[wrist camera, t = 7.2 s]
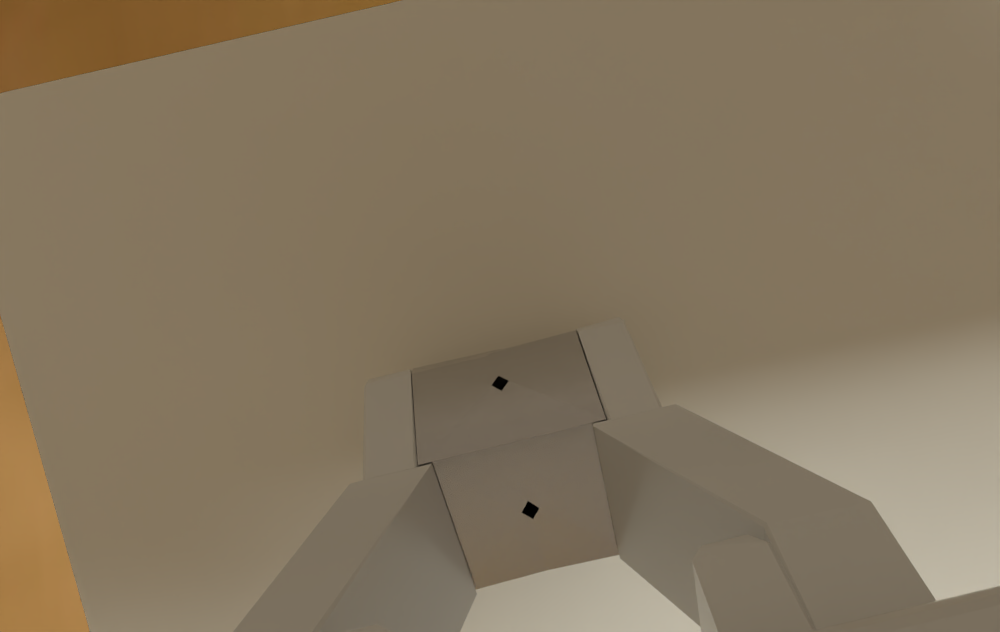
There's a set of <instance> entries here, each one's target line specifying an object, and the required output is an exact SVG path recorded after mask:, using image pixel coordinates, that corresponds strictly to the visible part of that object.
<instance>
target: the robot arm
mask: <svg viewBox="0 0 1000 632" xmlns="http://www.w3.org/2000/svg"><path fill="white" fill-rule="evenodd" d="M616 555H620V559H621V560H623V561H624V562H625V563H626V564H627V565H628V566H630V567H631V568H632V569H633V570H634V571H635V572H637V573H638V574H639V575H640V576H641V577H642V578H644V579H645V580H646V581H647V582H648V583H650V584H651V585H652V586H653V587H654V588H655V589H657V590H658V591H659V592H660V593H661V594H662V595H664V596H665V597H666V598H667V599H668V600H669V601H671V602H672V603H673V604H674V605H675V606H676V607H678V608H679V609H680V610H681V611H682V612H683V613H685V614H686V615H687V616H688V617H689V618H691V619H692V620H693V621H694V622H695V623H696V624H698V625H699V626H700V627H701V632H1000V586H996V587H991V588H987V589H983V590H979V591H975V592H971V593H967V594H962V595H958V596H954V597H950V598H946V599H941V600H937V601H936V599H935V598H934V596H933V595H932V593H931V592H930V590H929V589H928V587H927V586H926V584H925V583H924V581H923V580H922V578H921V576H920V575H919V573H918V572H917V570H916V569H915V567H914V566H913V564H912V563H911V561H910V560H909V558H908V557H907V555H906V554H905V552H904V551H903V549H902V548H901V546H900V544H899V543H898V541H897V540H896V538H895V537H894V535H893V534H892V532H891V531H890V529H889V528H888V526H887V525H886V523H885V522H884V520H883V519H882V517H881V516H880V514H879V512H878V511H877V509H876V508H875V506H874V505H873V503H872V502H871V501H869V500H867V499H865V498H863V497H861V496H859V495H857V494H855V493H853V492H851V491H849V490H847V489H845V488H843V487H841V486H839V485H837V484H835V483H833V482H831V481H829V480H827V479H825V478H823V477H821V476H819V475H817V474H815V473H813V472H811V471H809V470H807V469H805V468H803V467H801V466H799V465H797V464H795V463H793V462H791V461H789V460H787V459H785V458H783V457H781V456H779V455H777V454H775V453H773V452H771V451H769V450H767V449H765V448H763V447H761V446H759V445H757V444H755V443H753V442H751V441H749V440H747V439H745V438H743V437H741V436H739V435H737V434H735V433H733V432H731V431H729V430H727V429H725V428H723V427H721V426H719V425H717V424H715V423H713V422H711V421H709V420H707V419H705V418H703V417H701V416H699V415H697V414H695V413H693V412H691V411H689V410H687V409H685V408H683V407H681V406H679V405H677V404H673V405H669V406H665V407H662V405H661V403H660V401H659V398H658V396H657V394H656V392H655V389H654V387H653V385H652V383H651V380H650V378H649V376H648V374H647V371H646V369H645V367H644V364H643V362H642V360H641V358H640V355H639V353H638V351H637V349H636V346H635V344H634V342H633V340H632V337H631V335H630V333H629V330H628V328H627V326H626V324H625V321H624V320H622V319H621V318H619V317H617V318H614V319H610V320H606V321H603V322H599V323H596V324H592V325H589V326H585V327H581V328H578V329H576V330H575V331H571V332H567V333H563V334H559V335H556V336H552V337H548V338H544V339H540V340H536V341H532V342H529V343H525V344H521V345H517V346H513V347H509V348H505V349H502V350H501V349H498V350H493V351H489V352H484V353H480V354H475V355H471V356H466V357H462V358H458V359H453V360H449V361H444V362H440V363H435V364H431V365H426V366H422V367H417V368H413V371H412V370H409V369H408V370H404V371H400V372H396V373H392V374H388V375H384V376H380V377H376V378H372V379H368V381H367V383H366V385H365V387H364V441H363V480H362V481H358V482H354V483H350V484H349V485H348V487H347V488H346V489H345V490H344V492H343V493H342V494H341V495H340V497H339V498H338V499H337V501H336V502H335V503H334V504H333V506H332V507H331V508H330V509H329V511H328V512H327V513H326V515H325V516H324V517H323V518H322V520H321V521H320V522H319V523H318V525H317V526H316V527H315V528H314V530H313V531H312V532H311V534H310V535H309V536H308V537H307V539H306V540H305V541H304V542H303V544H302V545H301V546H300V548H299V549H298V550H297V551H296V553H295V554H294V555H293V556H292V558H291V559H290V560H289V561H288V563H287V564H286V565H285V567H284V568H283V569H282V570H281V572H280V573H279V574H278V575H277V577H276V578H275V579H274V581H273V582H272V583H271V584H270V586H269V587H268V588H267V589H266V591H265V592H264V593H263V594H262V596H261V597H260V598H259V600H258V601H257V602H256V603H255V605H254V606H253V607H252V608H251V610H250V611H249V612H248V614H247V615H246V616H245V617H244V619H243V620H242V621H241V622H240V624H239V625H238V626H237V627H236V629H235V630H234V631H233V632H460V631H461V628H462V626H463V624H464V622H465V620H466V617H467V615H468V613H469V611H470V608H471V606H472V604H473V602H474V600H475V597H476V595H477V593H476V589H480V588H484V587H487V586H491V585H495V584H498V583H502V582H506V581H509V580H513V579H517V578H520V577H524V576H528V575H531V574H535V573H539V572H542V571H546V570H551V569H556V568H560V567H565V566H570V565H574V564H579V563H584V562H588V561H593V560H597V559H602V558H607V557H611V556H616Z"/></svg>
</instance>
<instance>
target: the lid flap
mask: <svg viewBox="0 0 1000 632" xmlns="http://www.w3.org/2000/svg"><path fill="white" fill-rule="evenodd" d="M0 315H1V319H2V322H3V326H4V329H5V333H6V336H7V340H8V343H9V347H10V350H11V354H12V357H13V361H14V365H15V368H16V372H17V375H18V379H19V382H20V386H21V389H22V393H23V396H24V400H25V403H26V407H27V411H28V414H29V418H30V421H31V425H32V428H33V432H34V435H35V439H36V442H37V446H38V449H39V453H40V456H41V460H42V464H43V467H44V471H45V474H46V478H47V481H48V485H49V488H50V492H51V495H52V499H53V502H54V506H55V509H56V513H57V517H58V520H59V524H60V527H61V531H62V534H63V538H64V541H65V545H66V548H67V552H68V555H69V559H70V563H71V566H72V570H73V573H74V577H75V580H76V584H77V587H78V591H79V594H80V598H81V601H82V605H83V608H84V612H85V616H86V619H87V623H88V626H89V630H90V632H233V631H234V630H235V629H236V627H237V626H238V625H239V624H240V622H241V621H242V620H243V619H244V617H245V616H246V615H247V614H248V612H249V611H250V610H251V608H252V607H253V606H254V605H255V603H256V602H257V601H258V600H259V598H260V597H261V596H262V594H263V593H264V592H265V591H266V589H267V588H268V587H269V586H270V584H271V583H272V582H273V581H274V579H275V578H276V577H277V575H278V574H279V573H280V572H281V570H282V569H283V568H284V567H285V565H286V564H287V563H288V561H289V560H290V559H291V558H292V556H293V555H294V554H295V553H296V551H297V550H298V549H299V548H300V546H301V545H302V544H303V542H304V541H305V540H306V539H307V537H308V536H309V535H310V534H311V532H312V531H313V530H314V528H315V527H316V526H317V525H318V523H319V522H320V521H321V520H322V518H323V517H324V516H325V515H326V513H327V512H328V511H329V509H330V508H331V507H332V506H333V504H334V503H335V502H336V501H337V499H338V498H339V497H340V495H341V494H342V493H343V492H344V490H345V489H346V488H347V487H348V485H349V484H350V483H354V482H358V481H362V480H363V441H364V387H365V385H366V383H367V381H368V379H372V378H376V377H380V376H384V375H388V374H392V373H396V372H400V371H404V370H408V369H409V370H412V371H413V368H417V367H422V366H426V365H431V364H435V363H440V362H444V361H449V360H453V359H458V358H462V357H466V356H471V355H475V354H480V353H484V352H489V351H493V350H498V349H501V350H502V349H505V348H509V347H513V346H517V345H521V344H525V343H529V342H532V341H536V340H540V339H544V338H548V337H552V336H556V335H559V334H563V333H567V332H571V331H575V330H576V329H578V328H581V327H585V326H589V325H592V324H596V323H599V322H603V321H606V320H610V319H614V318H617V317H619V318H621V319H622V320H624V321H625V324H626V326H627V328H628V330H629V333H630V335H631V337H632V340H633V342H634V344H635V346H636V349H637V351H638V353H639V355H640V358H641V360H642V362H643V364H644V367H645V369H646V371H647V374H648V376H649V378H650V380H651V383H652V385H653V387H654V389H655V392H656V394H657V396H658V398H659V401H660V403H661V405H662V407H665V406H669V405H673V404H677V405H679V406H681V407H683V408H685V409H687V410H689V411H691V412H693V413H695V414H697V415H699V416H701V417H703V418H705V419H707V420H709V421H711V422H713V423H715V424H717V425H719V426H721V427H723V428H725V429H727V430H729V431H731V432H733V433H735V434H737V435H739V436H741V437H743V438H745V439H747V440H749V441H751V442H753V443H755V444H757V445H759V446H761V447H763V448H765V449H767V450H769V451H771V452H773V453H775V454H777V455H779V456H781V457H783V458H785V459H787V460H789V461H791V462H793V463H795V464H797V465H799V466H801V467H803V468H805V469H807V470H809V471H811V472H813V473H815V474H817V475H819V476H821V477H823V478H825V479H827V480H829V481H831V482H833V483H835V484H837V485H839V486H841V487H843V488H845V489H847V490H849V491H851V492H853V493H855V494H857V495H859V496H861V497H863V498H865V499H867V500H869V501H871V502H872V503H873V505H874V506H875V508H876V509H877V511H878V512H879V514H880V516H881V517H882V519H883V520H884V522H885V523H886V525H887V526H888V528H889V529H890V531H891V532H892V534H893V535H894V537H895V538H896V540H897V541H898V543H899V544H900V546H901V548H902V549H903V551H904V552H905V554H906V555H907V557H908V558H909V560H910V561H911V563H912V564H913V566H914V567H915V569H916V570H917V572H918V573H919V575H920V576H921V578H922V580H923V581H924V583H925V584H926V586H927V587H928V589H929V590H930V592H931V593H932V595H933V596H934V598H935V599H936V601H937V600H941V599H946V598H950V597H954V596H958V595H962V594H967V593H971V592H975V591H979V590H983V589H987V588H991V587H996V586H1000V0H402V1H397V2H393V3H389V4H384V5H380V6H376V7H371V8H367V9H363V10H358V11H354V12H350V13H345V14H341V15H337V16H332V17H328V18H324V19H319V20H315V21H311V22H306V23H302V24H298V25H293V26H289V27H285V28H280V29H276V30H272V31H267V32H263V33H259V34H254V35H250V36H246V37H241V38H237V39H233V40H228V41H224V42H220V43H215V44H211V45H207V46H202V47H198V48H194V49H189V50H185V51H181V52H176V53H172V54H168V55H163V56H159V57H155V58H150V59H146V60H142V61H137V62H133V63H129V64H124V65H120V66H116V67H111V68H107V69H103V70H99V71H94V72H90V73H86V74H81V75H77V76H73V77H68V78H64V79H60V80H55V81H51V82H47V83H42V84H38V85H34V86H29V87H25V88H21V89H16V90H12V91H8V92H3V93H0ZM476 593H477V595H476V597H475V600H474V602H473V604H472V606H471V608H470V611H469V613H468V615H467V617H466V620H465V622H464V624H463V626H462V628H461V631H460V632H701V627H700V626H699V625H698V624H696V623H695V622H694V621H693V620H692V619H691V618H689V617H688V616H687V615H686V614H685V613H683V612H682V611H681V610H680V609H679V608H678V607H676V606H675V605H674V604H673V603H672V602H671V601H669V600H668V599H667V598H666V597H665V596H664V595H662V594H661V593H660V592H659V591H658V590H657V589H655V588H654V587H653V586H652V585H651V584H650V583H648V582H647V581H646V580H645V579H644V578H642V577H641V576H640V575H639V574H638V573H637V572H635V571H634V570H633V569H632V568H631V567H630V566H628V565H627V564H626V563H625V562H624V561H623V560H621V559H620V555H616V556H611V557H607V558H602V559H597V560H593V561H588V562H584V563H579V564H574V565H570V566H565V567H560V568H556V569H551V570H546V571H542V572H539V573H535V574H531V575H528V576H524V577H520V578H517V579H513V580H509V581H506V582H502V583H498V584H495V585H491V586H487V587H484V588H480V589H476Z"/></svg>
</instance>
